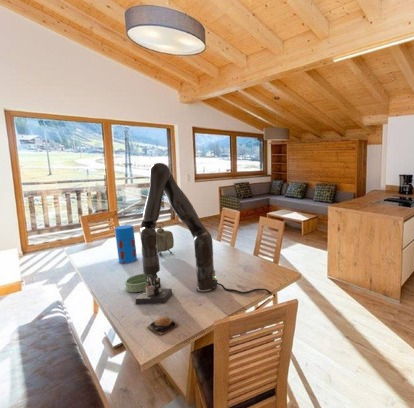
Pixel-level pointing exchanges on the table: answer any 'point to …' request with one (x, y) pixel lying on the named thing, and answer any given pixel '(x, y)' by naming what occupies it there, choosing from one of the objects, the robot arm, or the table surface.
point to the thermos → (125, 244)
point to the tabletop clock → (164, 240)
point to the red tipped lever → (151, 290)
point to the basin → (136, 283)
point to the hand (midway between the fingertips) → (154, 293)
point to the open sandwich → (162, 325)
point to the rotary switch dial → (154, 297)
